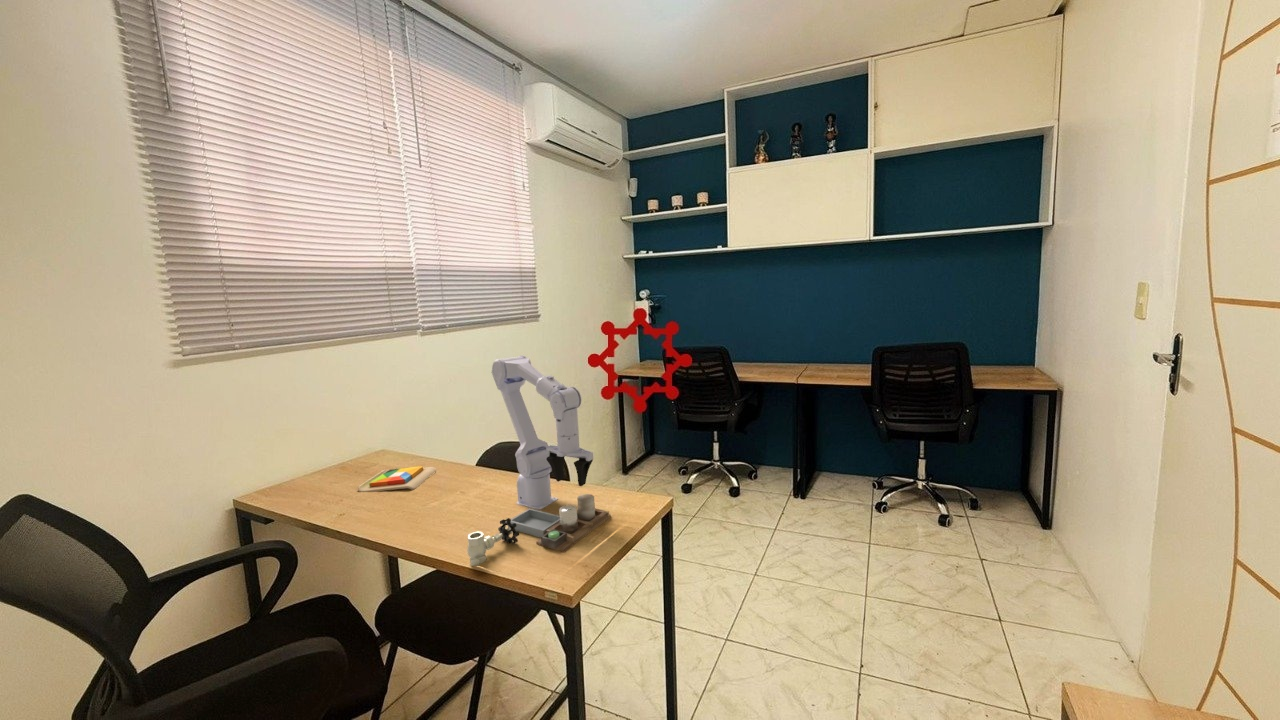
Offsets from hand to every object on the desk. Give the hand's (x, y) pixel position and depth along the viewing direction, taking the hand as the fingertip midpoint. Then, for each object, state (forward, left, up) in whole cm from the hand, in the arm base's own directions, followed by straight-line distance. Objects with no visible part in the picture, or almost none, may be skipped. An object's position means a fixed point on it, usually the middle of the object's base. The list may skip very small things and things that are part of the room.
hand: (570, 482), depth 130 cm
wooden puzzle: (-72, -4, -11) cm, 73 cm away
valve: (-6, -24, -10) cm, 26 cm away
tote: (-5, -9, -10) cm, 14 cm away
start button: (+6, -14, -9) cm, 17 cm away
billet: (+6, -8, -9) cm, 13 cm away
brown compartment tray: (+6, -6, -10) cm, 13 cm away
